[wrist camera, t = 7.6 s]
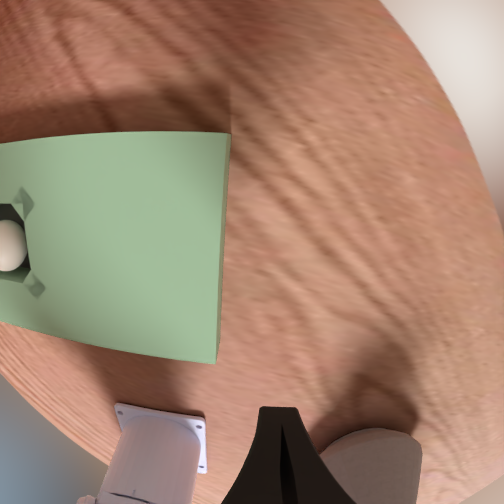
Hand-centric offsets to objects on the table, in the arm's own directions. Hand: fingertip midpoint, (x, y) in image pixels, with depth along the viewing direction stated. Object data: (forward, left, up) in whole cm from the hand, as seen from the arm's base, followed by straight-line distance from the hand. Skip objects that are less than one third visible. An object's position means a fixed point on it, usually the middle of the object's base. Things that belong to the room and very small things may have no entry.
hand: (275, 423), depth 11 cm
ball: (+3, +18, -8) cm, 20 cm away
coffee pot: (-20, -14, -10) cm, 26 cm away
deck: (+4, +13, -9) cm, 16 cm away
